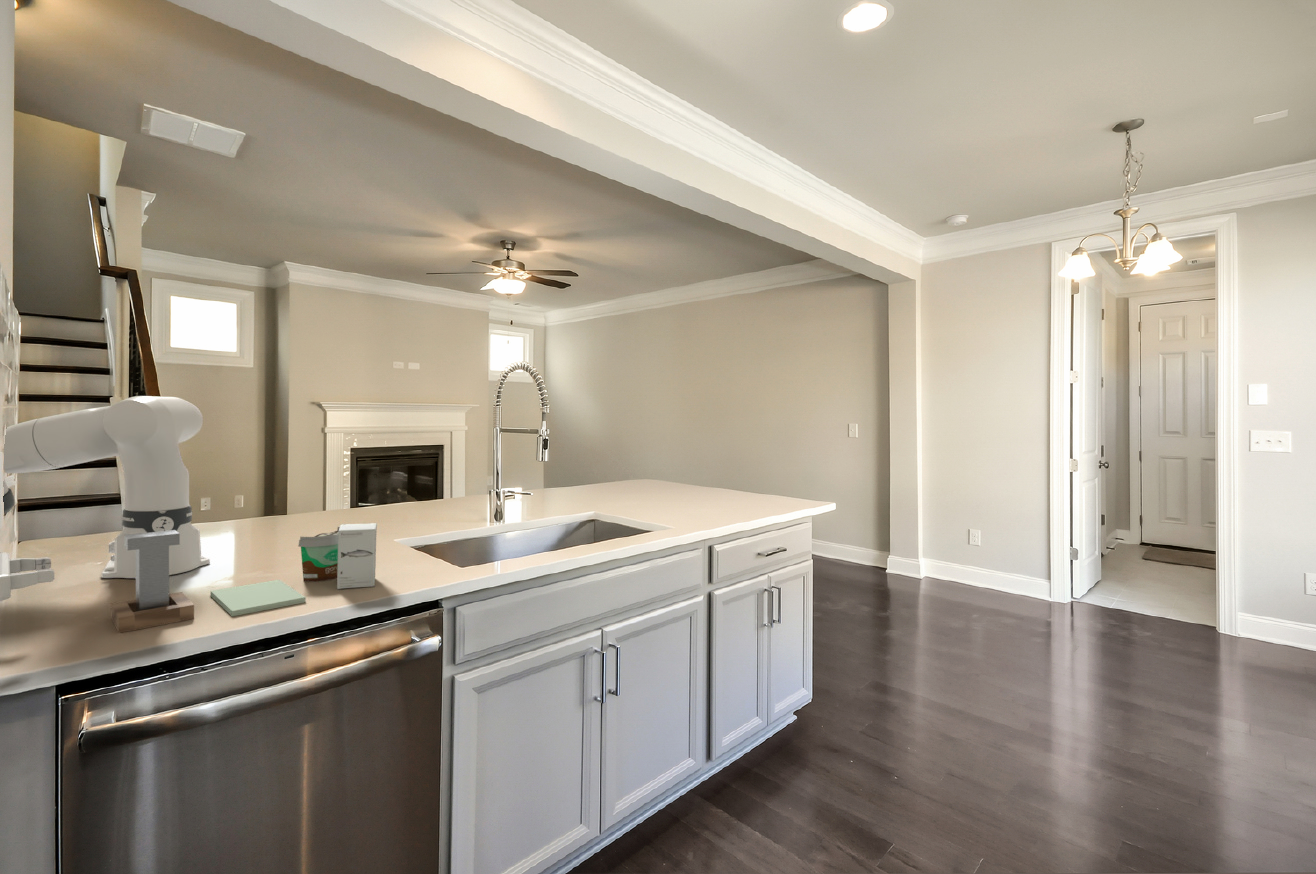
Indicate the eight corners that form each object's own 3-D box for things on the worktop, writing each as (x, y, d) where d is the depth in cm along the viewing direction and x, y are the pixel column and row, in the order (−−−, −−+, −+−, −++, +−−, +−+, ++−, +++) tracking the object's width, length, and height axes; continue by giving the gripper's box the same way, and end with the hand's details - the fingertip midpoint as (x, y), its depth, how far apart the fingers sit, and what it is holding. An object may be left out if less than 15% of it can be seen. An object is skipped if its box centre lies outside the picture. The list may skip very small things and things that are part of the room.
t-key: (124, 619, 106) (124, 534, 105) (175, 610, 111) (175, 529, 110) (128, 625, 103) (127, 538, 102) (179, 616, 108) (179, 533, 107)
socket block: (110, 617, 107) (110, 603, 106) (182, 605, 114) (182, 591, 114) (118, 632, 100) (118, 618, 100) (194, 618, 107) (193, 604, 107)
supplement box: (336, 590, 126) (336, 530, 125) (339, 580, 133) (339, 523, 132) (375, 587, 129) (376, 528, 128) (376, 577, 136) (377, 522, 135)
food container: (322, 585, 129) (323, 539, 128) (298, 583, 130) (298, 537, 129) (362, 570, 141) (362, 528, 140) (339, 568, 142) (339, 526, 141)
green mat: (210, 595, 120) (210, 590, 120) (279, 584, 129) (279, 579, 128) (232, 616, 109) (232, 611, 109) (305, 602, 118) (305, 597, 118)
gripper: (-77, 590, 94) (49, 574, 104) (-91, 625, 80) (56, 602, 90) (-78, 550, 94) (48, 538, 104) (-92, 578, 80) (55, 561, 90)
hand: (52, 568), depth 97 cm, fingers open, 8 cm apart
